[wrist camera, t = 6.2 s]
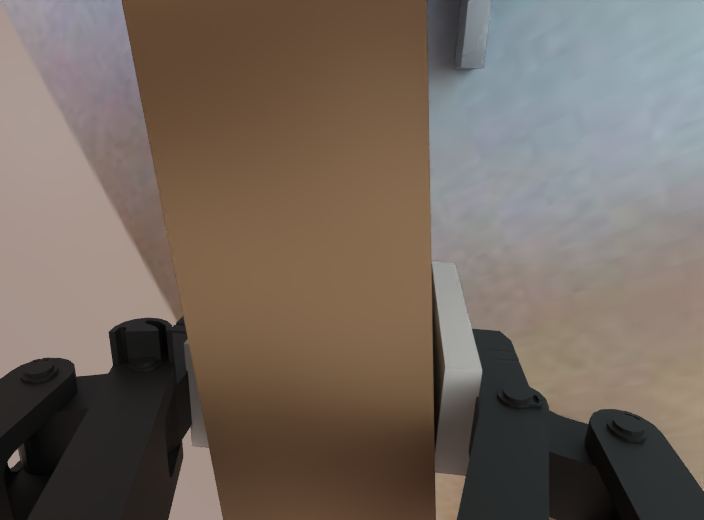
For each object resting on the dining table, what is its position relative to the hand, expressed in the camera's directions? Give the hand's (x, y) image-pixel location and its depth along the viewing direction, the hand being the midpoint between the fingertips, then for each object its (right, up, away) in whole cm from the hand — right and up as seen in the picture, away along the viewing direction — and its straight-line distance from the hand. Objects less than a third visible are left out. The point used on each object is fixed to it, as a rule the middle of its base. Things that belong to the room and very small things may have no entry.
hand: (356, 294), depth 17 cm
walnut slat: (0, 0, 0) cm, 0 cm away
